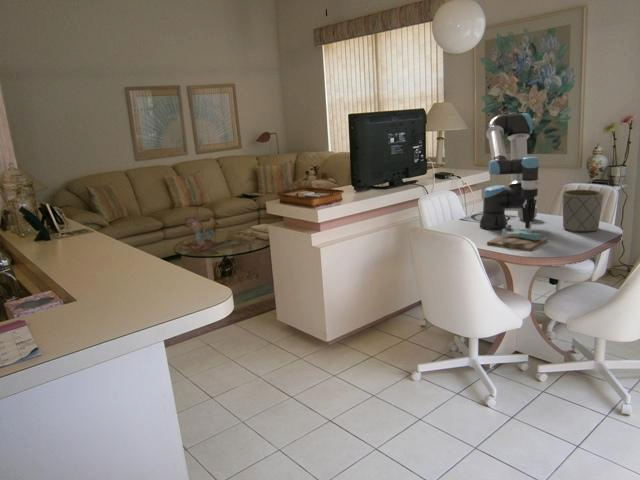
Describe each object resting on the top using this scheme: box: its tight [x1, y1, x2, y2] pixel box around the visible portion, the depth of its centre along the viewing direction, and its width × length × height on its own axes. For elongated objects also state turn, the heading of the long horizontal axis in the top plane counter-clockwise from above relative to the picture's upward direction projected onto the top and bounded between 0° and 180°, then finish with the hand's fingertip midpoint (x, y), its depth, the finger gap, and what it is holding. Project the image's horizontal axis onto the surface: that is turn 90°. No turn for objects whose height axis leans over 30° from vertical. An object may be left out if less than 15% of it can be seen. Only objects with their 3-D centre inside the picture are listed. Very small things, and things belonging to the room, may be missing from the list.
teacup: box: [516, 205, 538, 221], centre depth 297 cm, size 14×11×8 cm
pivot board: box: [486, 224, 549, 252], centre depth 250 cm, size 22×21×7 cm
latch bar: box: [501, 227, 542, 240], centre depth 255 cm, size 20×6×2 cm, turn 34°
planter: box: [562, 189, 604, 233], centre depth 266 cm, size 19×19×20 cm
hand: (528, 233), depth 254 cm, fingers closed
